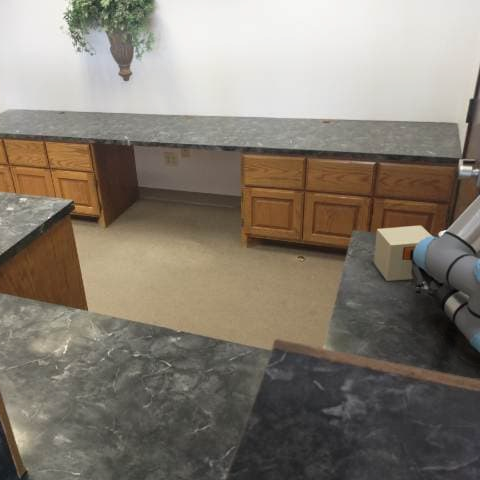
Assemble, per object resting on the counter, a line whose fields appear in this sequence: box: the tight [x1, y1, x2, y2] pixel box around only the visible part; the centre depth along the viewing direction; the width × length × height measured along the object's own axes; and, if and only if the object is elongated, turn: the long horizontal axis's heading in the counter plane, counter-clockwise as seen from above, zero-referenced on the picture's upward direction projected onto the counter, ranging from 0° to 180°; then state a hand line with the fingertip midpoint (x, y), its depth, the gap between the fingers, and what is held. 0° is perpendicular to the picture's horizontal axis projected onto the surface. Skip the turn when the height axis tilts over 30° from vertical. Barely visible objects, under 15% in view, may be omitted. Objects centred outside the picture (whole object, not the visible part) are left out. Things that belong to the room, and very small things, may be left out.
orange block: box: [402, 246, 416, 259], centre depth 135 cm, size 4×2×3 cm, turn 89°
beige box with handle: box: [373, 225, 433, 282], centre depth 140 cm, size 12×10×11 cm
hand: (413, 253), depth 134 cm, fingers closed
